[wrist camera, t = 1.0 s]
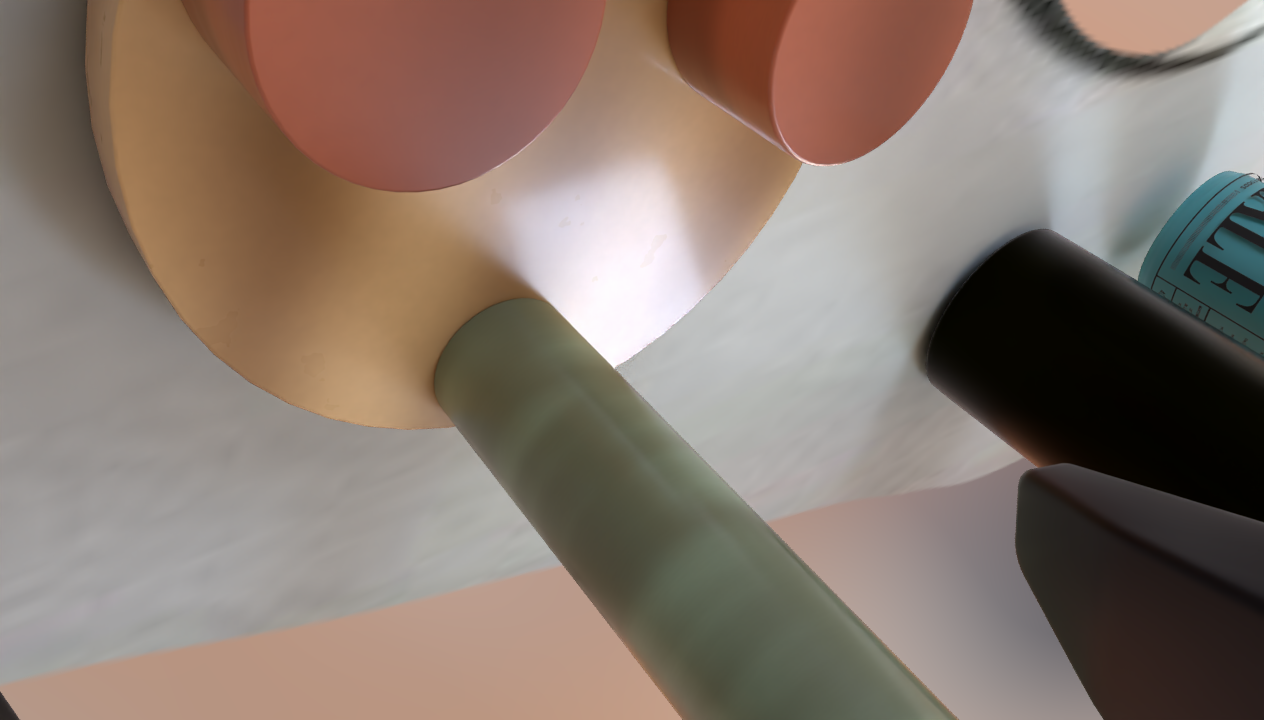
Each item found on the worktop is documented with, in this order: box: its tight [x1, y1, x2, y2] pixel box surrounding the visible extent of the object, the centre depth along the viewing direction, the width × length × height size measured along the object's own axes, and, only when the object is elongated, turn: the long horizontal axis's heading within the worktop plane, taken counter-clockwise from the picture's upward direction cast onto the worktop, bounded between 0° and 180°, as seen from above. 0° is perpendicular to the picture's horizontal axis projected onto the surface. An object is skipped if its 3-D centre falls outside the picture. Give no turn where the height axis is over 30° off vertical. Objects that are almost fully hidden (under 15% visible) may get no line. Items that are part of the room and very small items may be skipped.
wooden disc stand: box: [85, 0, 973, 720], centre depth 15 cm, size 15×15×15 cm
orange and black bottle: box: [926, 229, 1264, 522], centre depth 32 cm, size 7×7×20 cm
